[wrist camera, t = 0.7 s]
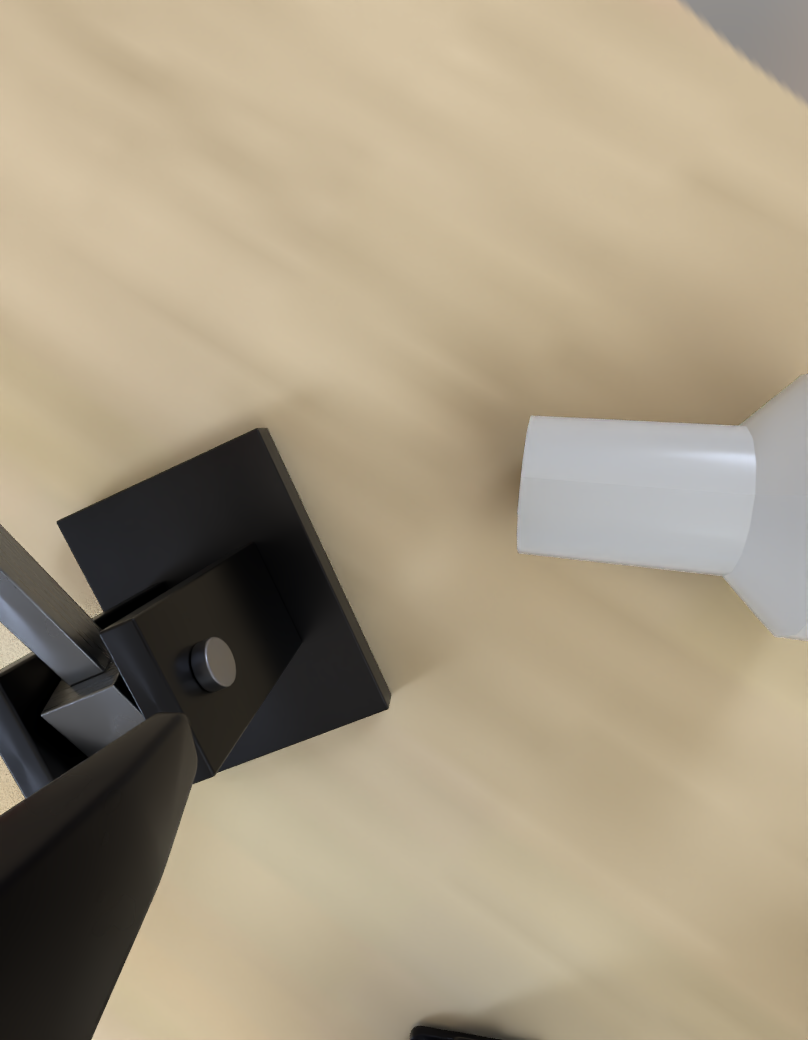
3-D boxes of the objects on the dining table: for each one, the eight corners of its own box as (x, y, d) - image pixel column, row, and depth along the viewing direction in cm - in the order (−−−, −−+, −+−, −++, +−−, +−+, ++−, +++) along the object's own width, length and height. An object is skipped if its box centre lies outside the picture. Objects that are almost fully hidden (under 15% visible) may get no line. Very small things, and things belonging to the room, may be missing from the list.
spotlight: (836, 632, 21) (1002, 687, 13) (515, 591, 24) (493, 615, 16) (857, 409, 21) (1037, 329, 13) (535, 396, 24) (523, 325, 16)
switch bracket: (74, 516, 24) (-184, 583, 14) (267, 427, 22) (129, 433, 13) (204, 765, 25) (53, 980, 16) (392, 695, 24) (353, 881, 14)
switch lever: (-178, 403, 13) (-313, 457, 10) (-71, 345, 12) (-182, 387, 10) (131, 706, 18) (95, 793, 15) (214, 673, 18) (191, 756, 15)
